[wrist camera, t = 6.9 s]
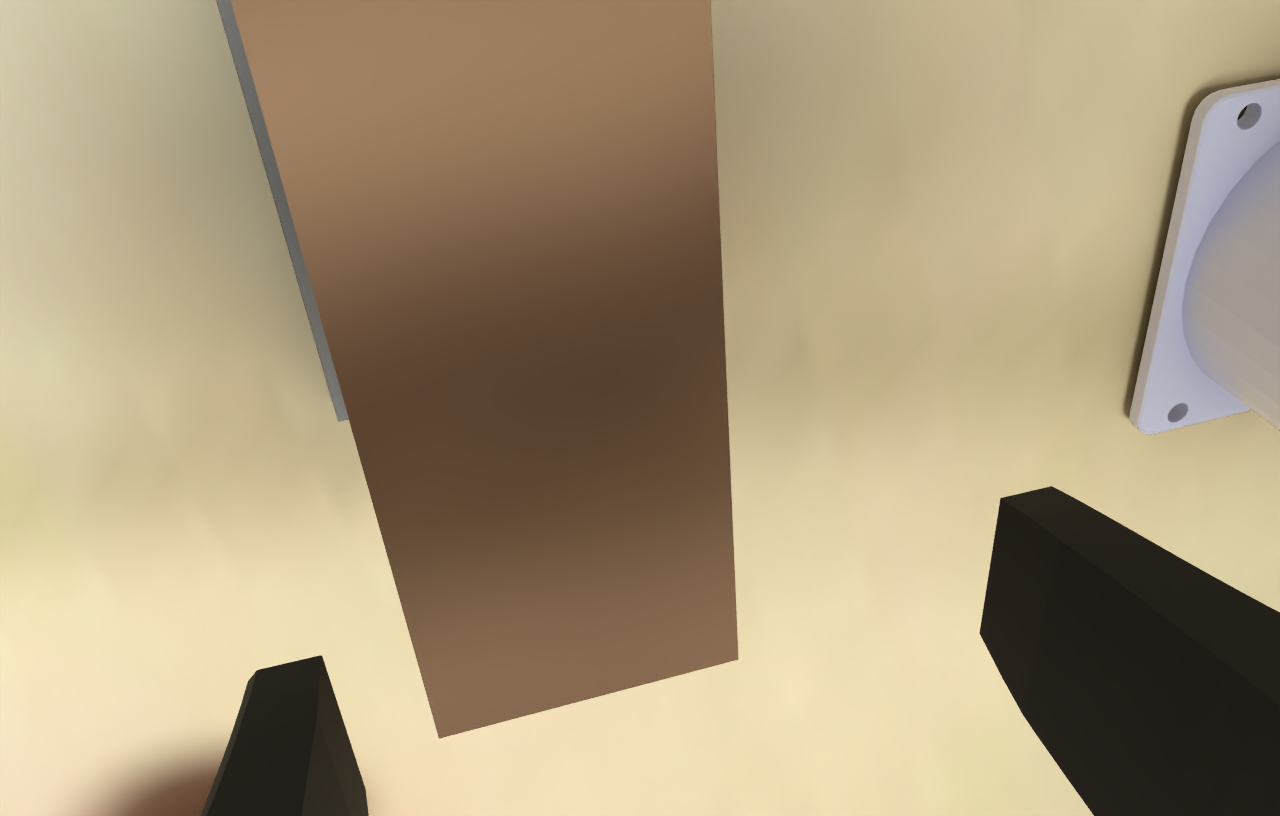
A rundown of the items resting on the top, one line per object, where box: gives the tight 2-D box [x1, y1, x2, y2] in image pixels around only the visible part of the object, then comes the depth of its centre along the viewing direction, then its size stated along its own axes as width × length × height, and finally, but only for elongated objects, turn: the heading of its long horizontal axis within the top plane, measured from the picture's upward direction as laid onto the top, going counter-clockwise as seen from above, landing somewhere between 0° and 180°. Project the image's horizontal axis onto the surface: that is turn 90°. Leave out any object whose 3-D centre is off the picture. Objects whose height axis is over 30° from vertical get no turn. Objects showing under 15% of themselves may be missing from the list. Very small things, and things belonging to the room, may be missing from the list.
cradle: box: [216, 0, 349, 421], centre depth 17 cm, size 10×6×3 cm, turn 4°
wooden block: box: [231, 0, 738, 738], centre depth 13 cm, size 10×4×5 cm, turn 4°
